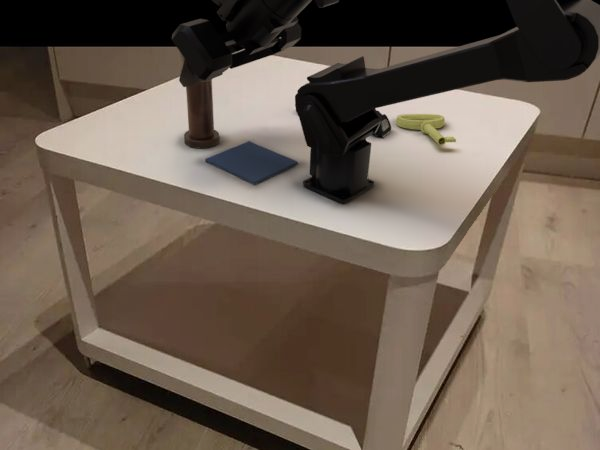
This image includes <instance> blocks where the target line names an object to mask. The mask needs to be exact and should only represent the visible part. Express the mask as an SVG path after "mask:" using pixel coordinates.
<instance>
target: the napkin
mask: <svg viewBox="0 0 600 450" xmlns="http://www.w3.org/2000/svg"><path fill="white" fill-rule="evenodd" d="M204 161H205V162H206V163H207V164H210V165H212V166H214V167H216V168H218V169H220V170H222V171H224V172H227V173H228V174H231V175H233V176H235V177H237V178H239V179H241V180H244V181H245V182H248V183H250V184H252V185H254V186H255V185H257V184H260V183H262V182H265V181H266V180H268V179H270V178H272V177H275V176H276V175H278V174H280V173H283V172H285V171H287V170H289V169H291V168H294V167H295V166H297V165H298V164H299V161H298V160H295V159H293V158H290V157H288V156H285V155H283V154H281V153H278V152H276V151H274V150H271V149H269V148H267V147H265V146H262V145H260V144H258V143H255V142H252V141H251V140H248V141H246V142H243V143H241V144H238V145H235V146H233V147H231V148H228V149H226V150H224V151H220V152H218V153H216V154H214V155H211V156H209V157H207V158H205V159H204Z"/></svg>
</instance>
